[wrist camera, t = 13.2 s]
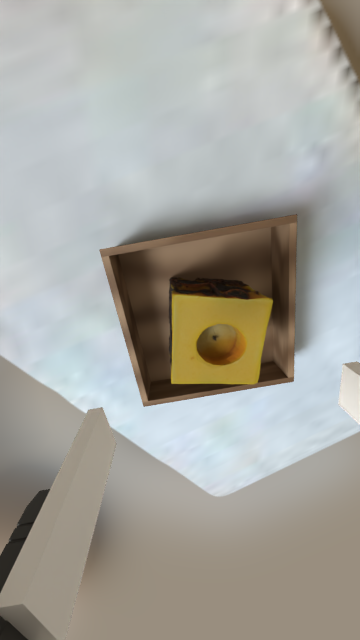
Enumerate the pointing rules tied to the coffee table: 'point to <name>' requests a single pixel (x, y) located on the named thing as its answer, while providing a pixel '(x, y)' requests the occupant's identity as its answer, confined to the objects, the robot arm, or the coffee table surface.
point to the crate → (201, 262)
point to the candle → (216, 331)
